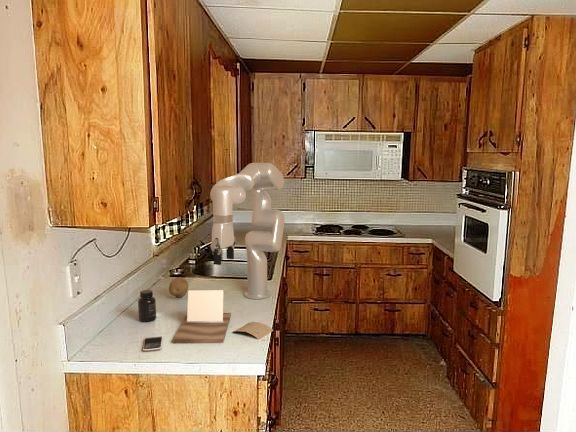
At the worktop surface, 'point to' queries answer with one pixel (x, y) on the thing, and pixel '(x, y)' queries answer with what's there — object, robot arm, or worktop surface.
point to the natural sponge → (178, 287)
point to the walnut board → (202, 331)
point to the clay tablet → (256, 329)
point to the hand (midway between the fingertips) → (224, 261)
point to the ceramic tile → (205, 306)
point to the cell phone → (152, 344)
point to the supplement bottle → (147, 306)
